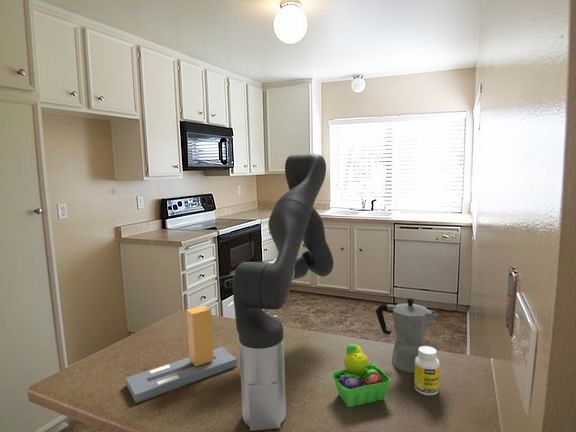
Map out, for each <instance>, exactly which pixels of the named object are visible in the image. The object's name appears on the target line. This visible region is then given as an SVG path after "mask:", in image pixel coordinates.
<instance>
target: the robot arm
mask: <svg viewBox="0 0 576 432" xmlns="http://www.w3.org/2000/svg"><path fill="white" fill-rule="evenodd" d="M326 173H327V162H326V160H325V157H324V156H323V155H321V154H319V153H304V154H303V153H300V154H291V155H289V156H287V158H286V160H285V164H284V174H285V175H284V176H285V180H286V183H287V185H288V191H287V192H285V193H284V194H283V195H282V196H281V197H280V198H279V199H278V200H276V201H277V202H276V203H275V204H274V207H273V209H272V211H271V214H270V216H269V218H268V222H267V223H268V224H267V225H268V231H269V234H270V236H271V238H272V240H273V242H274V245H275V247H276V250H277V252H278V254H277V258H273V259H272V258H271V259H266V260H263V261H262V260H261V261H259V262H258V261H244V262H241V263H239V264H238V265H237V266H236V268H235V270H232V271H230V272H229V275H225V276H219V277H218V285H219V286H224V288H225V289H226V290H227V289H228V290H229V289H232V296H233V305H234V306H233V307H234V316H235V327H236V331H237V335H238V340H239V341H238V344H239V347H238V348H239V369H240V371H239V372H240V387H241V388H240V389H241V391H240V392H241V407H242V409H241V410H242V420H243V422H244V423H245V425H247V426H248V427H249V431H263V430H264V431H265V430H273V429H275V430H276V429H280V428H281V427H282V426H281V424H282V423H283V422H284V421H285V419H286V416H287V405H286V403H287V402H286V401H287V400H286V379H285V378H286V377H285V374H286V373H285V347H284V346H285V345H284V344H285V342H284V340H285V339H284V336H285V335H284V326H283V324H282V323H281V322H280V321H279V320H278V319H277V318H275V317H273V316H271V315H269V314H268V313H266V312H265V311H264V310H273V311H274V310H280V309H282V308H283V307H284V306H285V304H286V301H287V299H288V297H289V294H290V290H291V286H292V283H293V281H294V280H297V279H301V278H304V277H305V276H306V275H307V274H308V271H310V272H312V273H313V274H315V275H317V276H319V277H322V278H323V277H324V278H325V277H328V276H329V275H330V274H331V273H332V271H333V270H334V269H333V268H334V257H333V255H332V252H331V249H330V247H329V244H328V243H327V239H326V232H325V225H324V221H323V219H322V217H321V215H320V214H319V212H318V211H317V210H316V209H315V207H314V204H315V202H316V200H317V197H318V195H319V193H320V191H321V188H322V187H323V184H324V181H325V178H326ZM302 243H303V245H304V247H305V248H306V250H303V251H301V252H300V253H299V251H300V249H301V245H302ZM263 309H264V310H263Z"/></svg>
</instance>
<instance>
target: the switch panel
mask: <svg viewBox="0 0 576 432" xmlns="http://www.w3.org/2000/svg"><path fill="white" fill-rule="evenodd" d="M213 358H214V360H213V361H210V362H207V363H204V364H201V365H199V366H195V365H194V364H193V363H192V362H191V361H190V356H189V357H186V358H183V359H179V360H176V361H174V362H170V363H168V364H164V365H161V366H159V367H158V366H157V367H154V368H152V369H149V370H146V371H143V372H140V373H136V374H133V375H130V376H128V377H125V382H126V383H125V385H126V387H127V389H128V391H129V393H130V395H131V397H132V399H133V401H134V402H135V404H137V403H140V402H143V401H145V400H148V399H151V398H154V397H156V396H159V395H162V394H164V393H165V394H166V393H167V392H170V391H172V390H175V389H178V388H180V387H184V386H187V385H189V384H191V383H194V382H198V381H199V380H202V379H206V378H208V377H210V376H213V375H216V374H219V373H222V372H224V371H227V370H230V369H232V368H236V367H237V366H238V359H237V358H236V357H235V356H234V355H233V354H231V353H230V352H229V351H228V350H227V349H225V348H224V347H223V346H220V347H216V348H213Z"/></svg>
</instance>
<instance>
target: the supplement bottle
mask: <svg viewBox="0 0 576 432" xmlns="http://www.w3.org/2000/svg"><path fill="white" fill-rule="evenodd" d="M437 353H438V352H437V349H436V348H434V347H432V346H428V345H425V346H421V347H419V349H418V356H417V357H416V358H415V373H414V379H413V380H414V382H413V386H414V389H415V390H416V391H417V392H418V393H419V394H422V395H425V396H436V395H437V394H438V393H439V392H440V391H439V389H440V371H441V369H440V367H441V365H440V361H439V359H438V358H437V356H438V355H437Z"/></svg>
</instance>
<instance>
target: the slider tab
mask: <svg viewBox="0 0 576 432" xmlns="http://www.w3.org/2000/svg"><path fill="white" fill-rule="evenodd" d="M186 320H187V322H186V323H187V335H188V336H187V337H188V351H189V352H188V353H189V355H188V356H189V357H190V361H191V362H192V363H193V364H194V365H195V366H199V365H201V364H204V363H207V362H210V361H213V360H214V358H213V349H214V345H213V344H214V343H213V342H214V341H213V324H212V309H211V308H209V306H206V305H200V306H196V307H192V308H189V309H188V308H187V309H186Z"/></svg>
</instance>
